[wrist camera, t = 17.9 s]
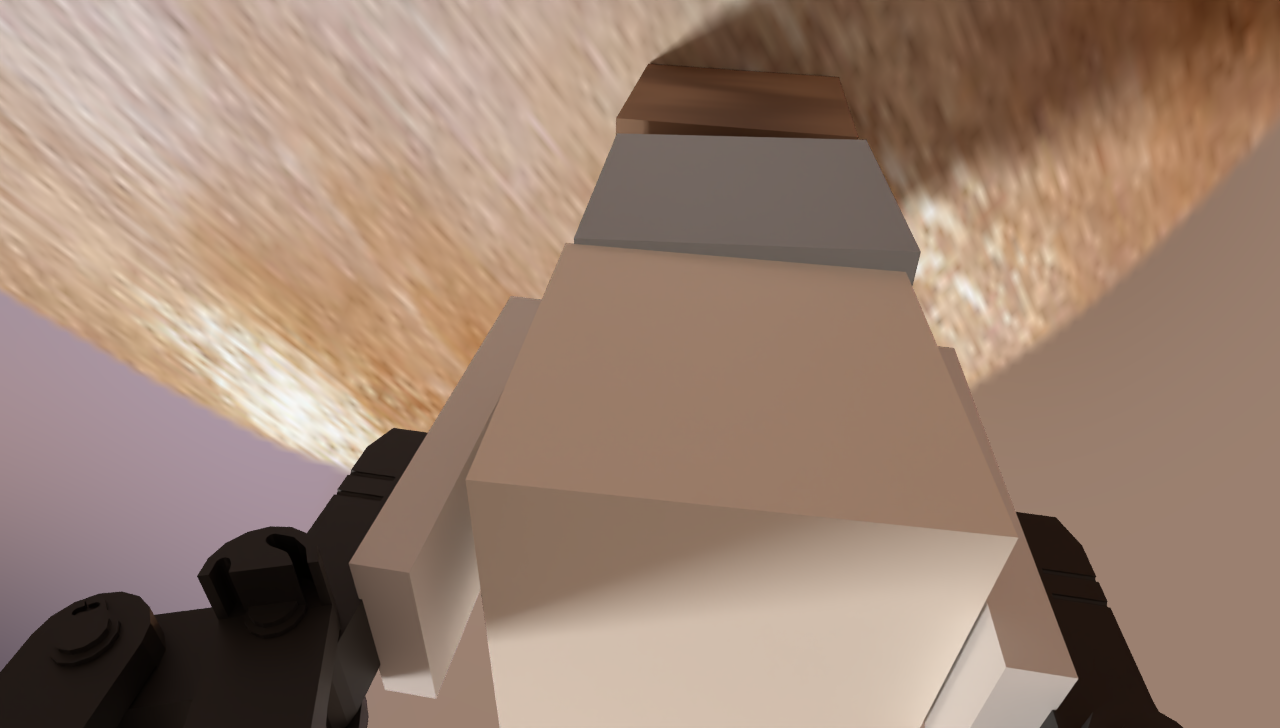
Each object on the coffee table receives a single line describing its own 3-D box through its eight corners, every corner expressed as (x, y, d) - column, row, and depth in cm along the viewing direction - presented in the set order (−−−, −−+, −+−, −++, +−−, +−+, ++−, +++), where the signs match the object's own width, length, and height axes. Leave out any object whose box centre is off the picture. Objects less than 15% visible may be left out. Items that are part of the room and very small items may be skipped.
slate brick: (622, 337, 21) (589, 481, 16) (617, 133, 18) (574, 238, 13) (829, 348, 21) (860, 500, 16) (866, 140, 17) (920, 251, 12)
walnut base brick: (641, 235, 26) (610, 329, 21) (648, 63, 23) (612, 123, 18) (806, 251, 26) (816, 351, 21) (838, 76, 22) (860, 143, 17)
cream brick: (570, 483, 16) (502, 749, 11) (565, 243, 13) (465, 480, 8) (836, 510, 16) (883, 797, 11) (905, 271, 12) (1019, 537, 8)
